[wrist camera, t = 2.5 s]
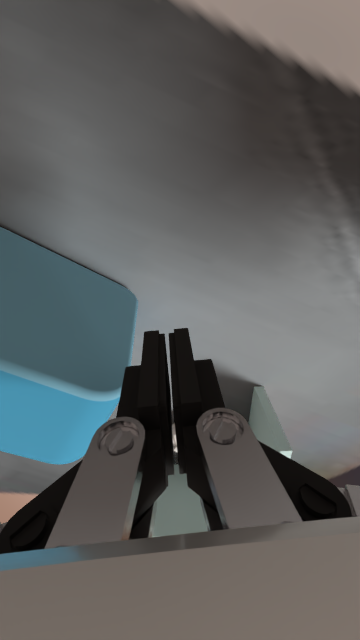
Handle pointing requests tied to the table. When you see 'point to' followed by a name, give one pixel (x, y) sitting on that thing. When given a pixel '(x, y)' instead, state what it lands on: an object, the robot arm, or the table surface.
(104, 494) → the robot arm
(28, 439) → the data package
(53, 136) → the table surface
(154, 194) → the table surface
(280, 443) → the mint corner bracket
